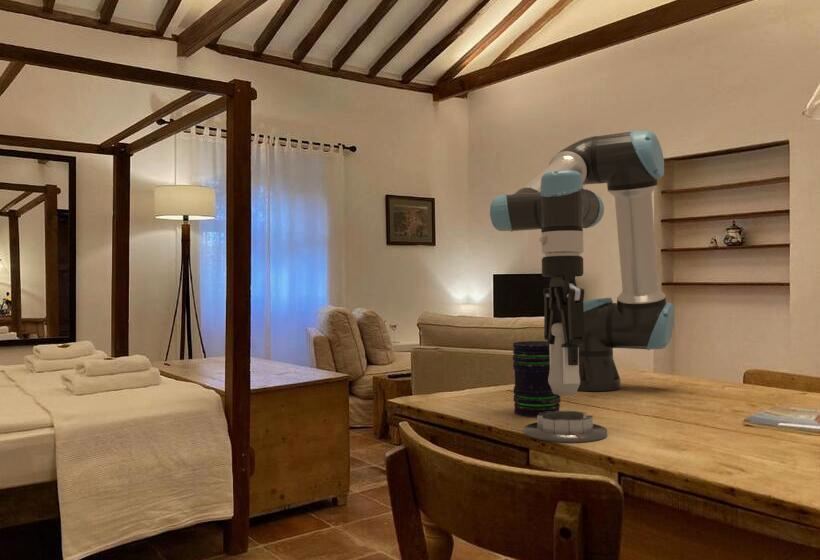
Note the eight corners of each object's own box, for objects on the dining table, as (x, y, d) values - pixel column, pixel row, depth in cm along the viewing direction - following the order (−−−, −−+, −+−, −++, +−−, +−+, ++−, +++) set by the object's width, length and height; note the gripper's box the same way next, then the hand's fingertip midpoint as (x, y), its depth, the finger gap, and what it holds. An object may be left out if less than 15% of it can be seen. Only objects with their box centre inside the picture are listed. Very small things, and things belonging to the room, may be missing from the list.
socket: (513, 427, 134) (513, 410, 134) (586, 423, 136) (585, 406, 136) (541, 445, 119) (541, 425, 119) (622, 440, 122) (622, 421, 122)
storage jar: (567, 411, 149) (565, 342, 149) (551, 419, 141) (550, 346, 141) (523, 407, 154) (522, 340, 154) (506, 415, 146) (505, 344, 146)
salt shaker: (554, 390, 131) (553, 321, 132) (584, 392, 129) (583, 322, 129) (543, 394, 126) (542, 323, 127) (574, 396, 124) (573, 324, 124)
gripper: (525, 257, 136) (527, 375, 136) (563, 252, 118) (565, 389, 118) (561, 257, 138) (563, 374, 137) (604, 252, 119) (606, 387, 119)
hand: (564, 380), depth 128 cm, fingers closed on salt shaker, 6 cm apart
